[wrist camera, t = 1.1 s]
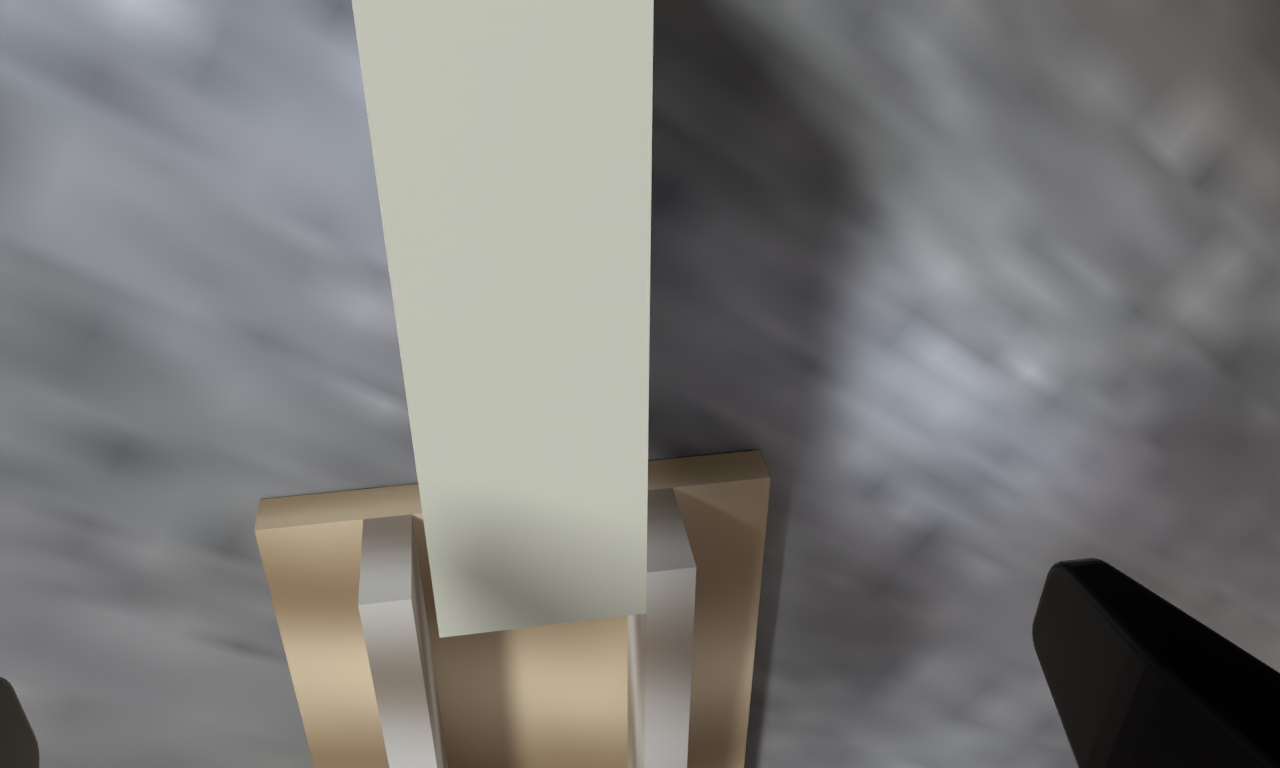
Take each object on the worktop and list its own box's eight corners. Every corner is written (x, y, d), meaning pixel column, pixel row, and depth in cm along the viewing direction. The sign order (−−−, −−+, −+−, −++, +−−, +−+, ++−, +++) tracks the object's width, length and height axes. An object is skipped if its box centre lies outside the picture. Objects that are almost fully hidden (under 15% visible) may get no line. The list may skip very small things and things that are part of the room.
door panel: (375, -145, 17) (350, -6, 11) (566, -149, 18) (653, -18, 11) (432, 343, 22) (439, 637, 16) (580, 331, 23) (646, 613, 16)
